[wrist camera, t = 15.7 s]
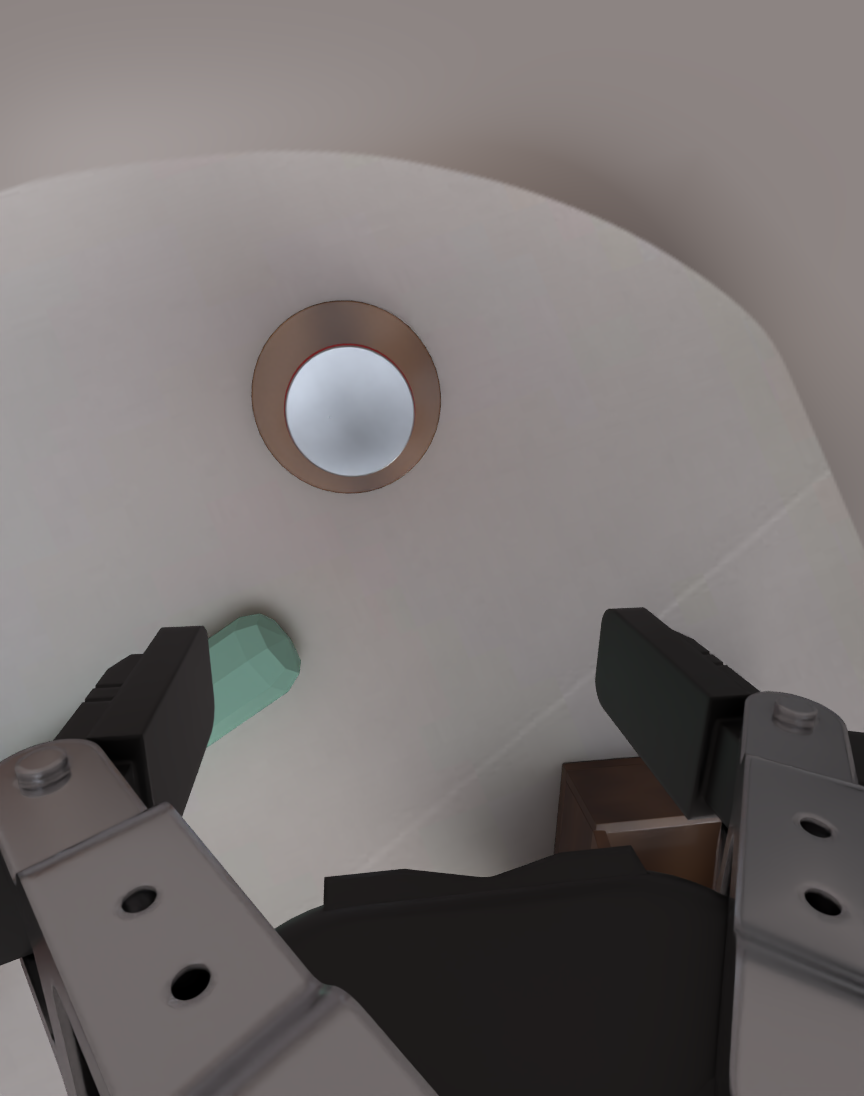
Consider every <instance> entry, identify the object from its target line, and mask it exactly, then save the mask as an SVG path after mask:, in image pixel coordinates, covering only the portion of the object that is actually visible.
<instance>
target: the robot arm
mask: <svg viewBox="0 0 864 1096" xmlns="http://www.w3.org/2000/svg"><path fill="white" fill-rule="evenodd" d="M595 683H596V691H597V696H598V699H599V702H600V704H601V706H602V707H603V709H604V710H605V711H606V713H607V714H608V715H609V717H610V718H611V719H612V721H613V722H614V723H615V725H616V726H617V727H618V728H619V730H620V731H621V732H622V734H623V735H624V736H625V738H626V739H627V740H628V742H629V743H630V744H631V746H632V747H633V748H634V750H635V751H636V752H637V754H638V755H639V756H640V757H641V759H642V760H643V761H644V763H645V764H646V765H647V767H648V768H649V769H650V771H651V772H652V773H653V775H654V776H655V777H656V779H657V780H658V781H659V782H660V784H661V785H662V786H663V788H664V789H665V790H666V792H667V793H668V794H669V796H670V797H671V798H672V800H673V801H674V802H675V804H676V805H677V806H678V807H679V809H680V810H681V811H682V813H683V814H684V815H685V817H686V818H687V819H688V820H696V819H706V818H716V817H719V818H720V820H721V826H720V831H719V836H718V842H717V851H716V859H715V868H714V877H713V886H712V889H710V888H708V887H705V886H703V885H700V884H698V883H695V882H693V881H690V880H687V879H684V878H680V877H677V876H674V875H670V874H665V873H660V872H656V871H649V870H646V869H645V868H644V866H643V864H642V863H641V861H640V859H639V858H638V856H637V854H636V853H635V851H634V849H633V848H632V846H631V845H627V846H617V847H608V848H598V849H589V850H579V851H569V852H560V853H557V854H554V855H552V856H549V857H546V858H543V859H540V860H538V861H535V862H532V863H529V864H527V865H524V866H521V867H518V868H515V869H513V870H510V871H507V872H504V873H502V874H499V875H496V876H492V877H474V876H465V875H456V874H446V873H437V872H428V871H419V870H410V869H398V870H389V871H379V872H370V873H360V874H351V875H341V876H332V877H325V878H324V905H322V906H319V907H317V908H314V909H311V910H309V911H307V912H305V913H302V914H300V915H298V916H296V917H294V918H292V919H290V920H288V921H287V922H285V923H283V924H282V925H280V926H278V927H277V928H275V929H274V928H273V927H272V926H271V924H270V923H269V922H268V921H267V920H266V918H265V917H264V916H263V915H262V913H261V912H260V911H259V910H258V909H257V907H256V906H255V905H254V904H253V903H252V901H251V900H250V899H249V898H248V897H247V895H246V894H245V893H244V892H243V890H242V889H241V888H240V887H239V886H238V884H237V883H236V882H235V881H234V880H233V878H232V877H231V876H230V875H229V874H228V872H227V871H226V870H225V869H224V867H223V866H222V865H221V864H220V863H219V861H218V860H217V859H216V858H215V857H214V855H213V854H212V853H211V852H210V851H209V849H208V848H207V847H206V846H205V844H204V843H203V842H202V841H201V840H200V838H199V837H198V836H197V835H196V834H195V832H194V831H193V830H192V829H191V828H190V826H189V825H188V824H187V823H186V821H185V820H184V819H183V818H182V815H183V813H184V810H185V807H186V804H187V801H188V798H189V796H190V793H191V790H192V787H193V784H194V781H195V778H196V776H197V773H198V770H199V767H200V764H201V761H202V759H203V756H204V753H205V750H206V747H207V744H208V742H209V739H210V736H211V733H212V729H213V724H214V711H215V704H214V691H213V682H212V672H211V663H210V653H209V644H208V636H207V632H206V629H205V627H204V626H186V627H163V628H161V629H160V630H159V632H158V633H157V635H156V636H155V637H154V639H153V640H152V642H151V643H150V645H149V646H148V648H147V649H146V651H145V652H144V654H131V655H129V656H128V657H126V658H124V659H123V660H121V661H120V662H118V663H117V664H115V665H113V666H112V667H110V668H109V669H108V670H107V671H106V672H105V674H104V675H103V676H102V678H101V679H100V680H99V681H98V683H97V684H96V688H94V689H92V691H91V692H90V693H89V695H88V696H87V697H86V698H85V702H82V704H81V705H80V706H79V708H78V709H77V710H76V712H75V713H74V714H73V715H72V717H71V718H70V719H69V721H68V722H67V723H66V725H65V726H64V727H63V729H62V730H61V731H60V732H59V734H58V735H57V736H56V738H55V739H54V740H53V741H49V742H45V743H41V744H38V745H35V746H32V747H29V748H27V749H24V750H22V751H19V752H17V753H15V754H13V755H11V756H10V757H8V758H6V759H5V760H3V761H1V762H0V965H3V964H5V963H8V962H11V961H13V960H16V959H19V958H20V961H21V965H22V968H23V970H24V973H25V976H26V979H27V981H28V984H29V987H30V990H31V992H32V995H33V998H34V1001H35V1003H36V1006H37V1009H38V1012H39V1014H40V1017H41V1020H42V1023H43V1025H44V1028H45V1031H46V1034H47V1036H48V1039H49V1042H50V1045H51V1047H52V1050H53V1053H54V1056H55V1058H56V1061H57V1064H58V1067H59V1069H60V1072H61V1075H62V1078H63V1081H64V1085H65V1088H66V1091H67V1094H68V1096H864V733H862V732H853V731H847V727H846V724H845V723H844V721H843V720H842V719H841V718H840V717H839V716H838V715H837V714H836V713H834V712H833V711H832V710H830V709H828V708H827V707H825V706H823V705H821V704H819V703H817V702H814V701H812V700H809V699H806V698H804V697H800V696H797V695H793V694H788V693H782V692H771V691H768V692H760V691H759V690H758V689H756V688H755V687H754V686H752V685H751V684H750V683H749V682H747V681H746V680H745V679H743V678H742V677H741V676H740V675H738V674H737V673H736V672H735V671H733V670H732V669H731V668H729V667H728V666H727V665H723V662H722V661H720V660H719V659H718V658H717V657H715V656H714V655H713V654H711V655H710V653H709V651H708V650H706V649H705V648H704V647H703V646H701V645H700V644H699V643H698V642H696V641H695V640H694V639H692V638H690V637H687V636H685V635H683V634H681V633H679V632H676V631H674V630H672V629H671V628H669V627H668V626H667V625H666V624H664V623H663V622H662V621H661V620H659V619H658V618H657V617H656V616H654V615H653V614H652V613H651V612H649V611H648V610H647V609H645V608H643V607H640V608H617V609H608V610H606V611H605V613H604V615H603V618H602V623H601V631H600V640H599V649H598V658H597V667H596V677H595Z"/></svg>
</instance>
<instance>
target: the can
mask: <svg viewBox="0 0 864 1096" xmlns="http://www.w3.org/2000/svg"><path fill="white" fill-rule="evenodd" d="M284 417H285V422H286V427H287V430H288V432H289V435H290V437H291V439H292V441H293V443H294V444H295V446H296V447H297V449H298V450H299V451H300V453H301V454H302V455H303V456H304V457H305V458H306V459H307V460H308V461H310V462H311V463H312V464H314V465H315V466H317V467H318V468H320V469H322V470H324V471H326V472H329V473H331V474H335V475H339V476H346V477H359V476H365V475H369V474H372V473H375V472H377V471H379V470H381V469H383V468H385V467H386V466H388V465H389V464H390V463H392V462H393V461H394V460H395V459H396V458H397V457H398V456H399V455H400V454H401V452H402V451H403V450H404V448H405V447H406V445H407V443H408V441H409V439H410V437H411V434H412V431H413V427H414V422H415V402H414V396H413V393H412V389H411V387H410V384H409V382H408V380H407V378H406V377H405V375H404V373H403V372H402V371H401V369H400V368H399V367H398V366H397V365H396V364H395V363H394V362H393V361H392V360H391V359H390V358H389V357H387V356H386V355H385V354H383V353H381V352H380V351H378V350H376V349H373V348H371V347H368V346H364V345H361V344H354V343H342V344H334V345H331V346H327V347H325V348H322V349H320V350H318V351H316V352H315V353H313V354H311V355H310V356H309V357H308V358H306V359H305V360H304V361H303V362H302V363H301V364H300V365H299V366H298V368H297V369H296V371H295V372H294V373H293V375H292V377H291V379H290V381H289V383H288V386H287V389H286V393H285V399H284Z"/></svg>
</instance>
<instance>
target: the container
mask: <svg viewBox="0 0 864 1096" xmlns="http://www.w3.org/2000/svg"><path fill="white" fill-rule="evenodd" d="M208 644H209V653H210V663H211V672H212V682H213V691H214V704H215V711H214V724H213V729H212V733H211V736H210V739H209V742H208V744H207V747H208V746H210V745H211V744H213V743H214V742H216V741H217V740H219V739H220V738H221V737H223V736H224V735H226V734H227V733H229V732H230V731H232V730H233V729H235V728H236V727H237V726H239V725H240V724H242V723H243V722H245V721H246V720H248V719H249V718H251V717H252V716H253V715H255V714H256V713H258V712H259V711H261V710H262V709H264V708H265V707H266V706H268V705H269V704H271V703H272V702H274V701H275V700H277V699H278V698H280V697H281V696H282V695H284V694H285V693H287V692H288V691H289V690H290V688H291V686H292V685H293V683H294V681H295V680H296V678H297V676H298V675H299V673H300V664H301V660H300V658H299V656H298V654H297V651H296V649H295V647H294V645H293V643H292V641H291V639H290V638H289V637H288V636H287V634H286V633H285V632H284V631H283V630H282V629H281V627H280V626H279V625H278V624H277V623H276V622H275V620H273V619H271V618H269V617H266V616H264V615H262V614H255V615H249V616H244V617H239V618H238V619H236V620H235V621H234V622H232V623H231V624H229V625H228V626H226V627H225V628H224V629H222V630H221V631H219V632H218V633H216V634H215V635H213V636H212V637H211V638H209V639H208ZM207 747H206V748H207Z"/></svg>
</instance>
